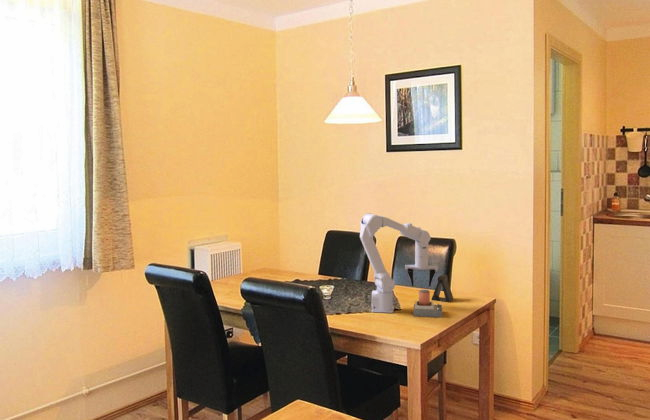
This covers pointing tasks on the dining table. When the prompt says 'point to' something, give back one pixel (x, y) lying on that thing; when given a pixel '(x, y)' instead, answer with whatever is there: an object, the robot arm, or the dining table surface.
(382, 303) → the robot arm
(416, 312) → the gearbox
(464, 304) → the dining table surface
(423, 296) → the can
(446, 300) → the phone stand
